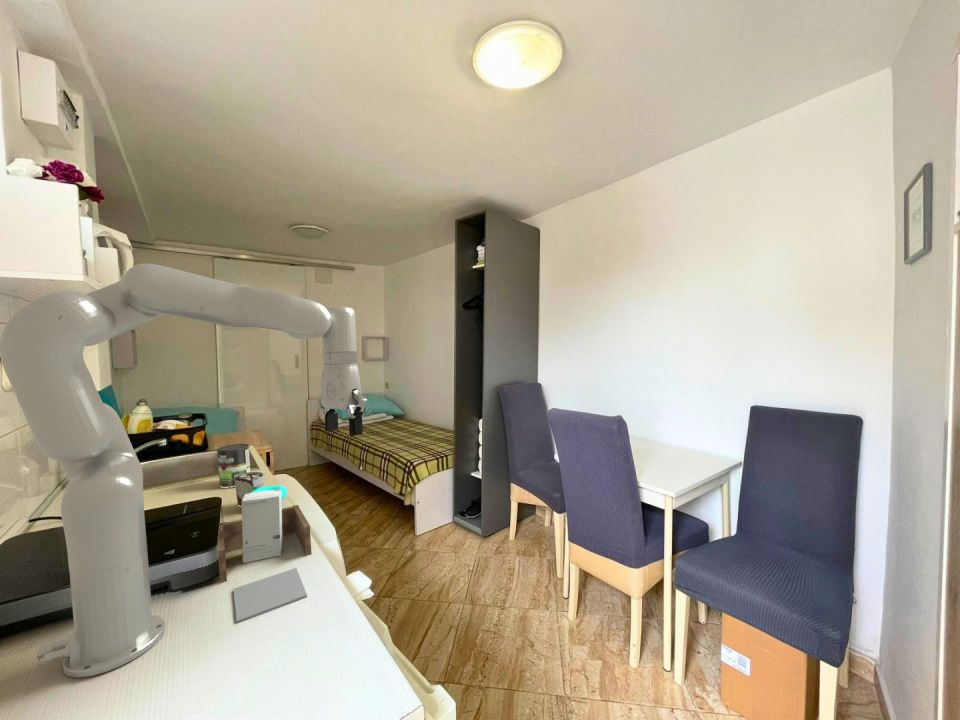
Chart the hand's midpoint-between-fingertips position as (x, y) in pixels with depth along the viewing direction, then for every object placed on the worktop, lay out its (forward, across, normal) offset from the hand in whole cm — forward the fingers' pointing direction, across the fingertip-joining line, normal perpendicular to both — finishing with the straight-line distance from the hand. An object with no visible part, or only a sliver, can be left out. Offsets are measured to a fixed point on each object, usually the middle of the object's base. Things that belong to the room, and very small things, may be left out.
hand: (343, 432), depth 91 cm
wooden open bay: (+30, -19, -11) cm, 37 cm away
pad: (+30, -2, -18) cm, 35 cm away
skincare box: (+30, -19, -11) cm, 37 cm away
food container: (+30, -53, +1) cm, 61 cm away
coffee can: (+30, -82, +6) cm, 88 cm away
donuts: (+30, -35, -3) cm, 46 cm away
